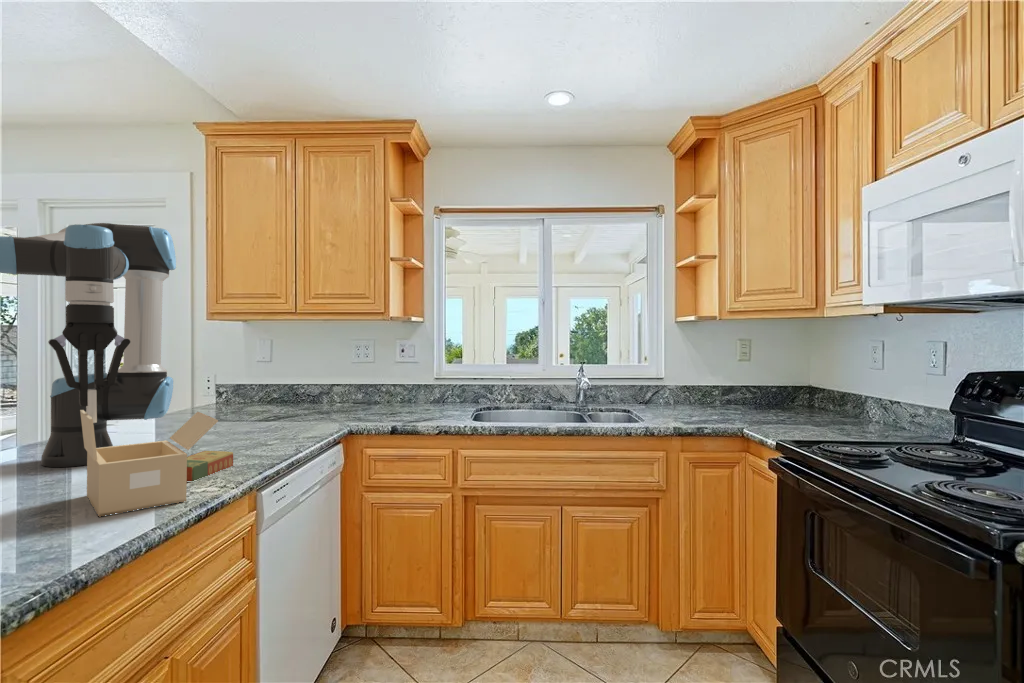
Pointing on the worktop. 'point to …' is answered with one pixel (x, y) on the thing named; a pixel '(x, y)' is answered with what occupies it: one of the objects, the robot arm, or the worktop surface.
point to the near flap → (88, 434)
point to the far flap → (193, 430)
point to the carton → (207, 463)
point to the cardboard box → (136, 477)
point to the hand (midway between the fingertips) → (91, 421)
